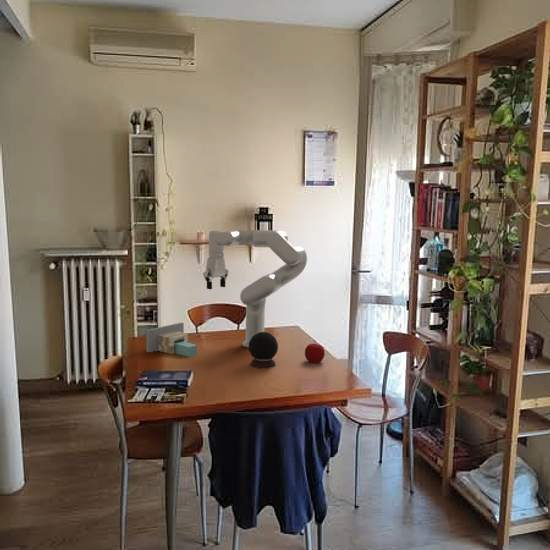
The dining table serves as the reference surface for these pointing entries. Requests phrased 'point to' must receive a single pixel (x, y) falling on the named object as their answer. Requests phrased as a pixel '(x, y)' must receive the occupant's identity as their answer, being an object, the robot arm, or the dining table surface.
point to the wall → (153, 334)
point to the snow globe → (263, 349)
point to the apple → (314, 353)
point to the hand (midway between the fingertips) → (216, 287)
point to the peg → (185, 348)
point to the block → (170, 341)
